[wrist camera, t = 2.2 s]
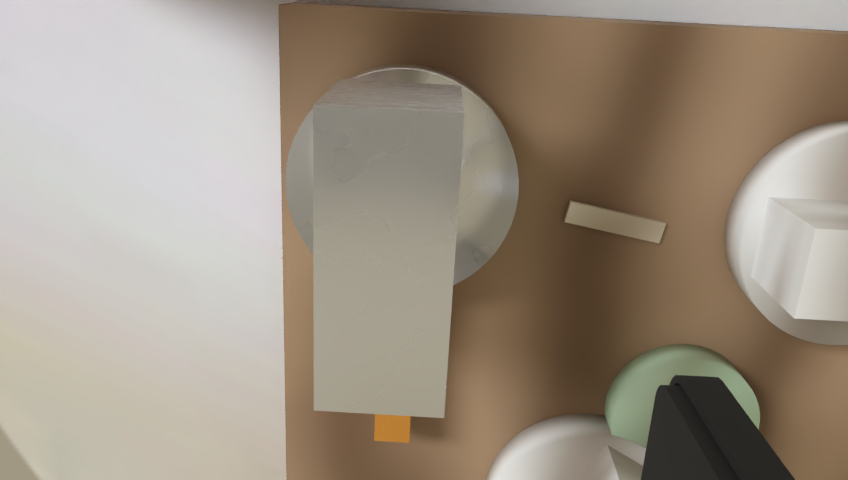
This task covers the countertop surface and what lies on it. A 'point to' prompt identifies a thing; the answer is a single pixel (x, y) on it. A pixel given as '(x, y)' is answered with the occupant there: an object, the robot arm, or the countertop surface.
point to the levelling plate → (607, 241)
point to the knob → (395, 232)
